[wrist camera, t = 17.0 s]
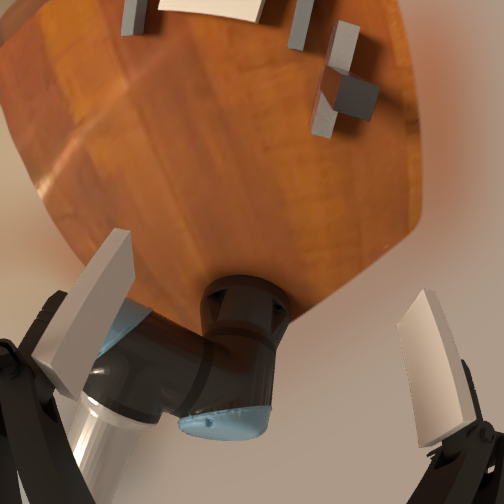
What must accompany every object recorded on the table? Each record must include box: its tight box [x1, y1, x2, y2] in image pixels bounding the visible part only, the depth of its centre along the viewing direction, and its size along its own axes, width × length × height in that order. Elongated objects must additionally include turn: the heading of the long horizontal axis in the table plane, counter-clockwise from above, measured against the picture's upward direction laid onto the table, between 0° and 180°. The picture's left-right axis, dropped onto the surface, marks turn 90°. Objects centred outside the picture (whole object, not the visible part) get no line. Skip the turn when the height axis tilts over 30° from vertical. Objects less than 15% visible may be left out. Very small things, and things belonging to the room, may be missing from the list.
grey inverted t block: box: [309, 21, 380, 138], centre depth 21 cm, size 12×2×14 cm, turn 171°
